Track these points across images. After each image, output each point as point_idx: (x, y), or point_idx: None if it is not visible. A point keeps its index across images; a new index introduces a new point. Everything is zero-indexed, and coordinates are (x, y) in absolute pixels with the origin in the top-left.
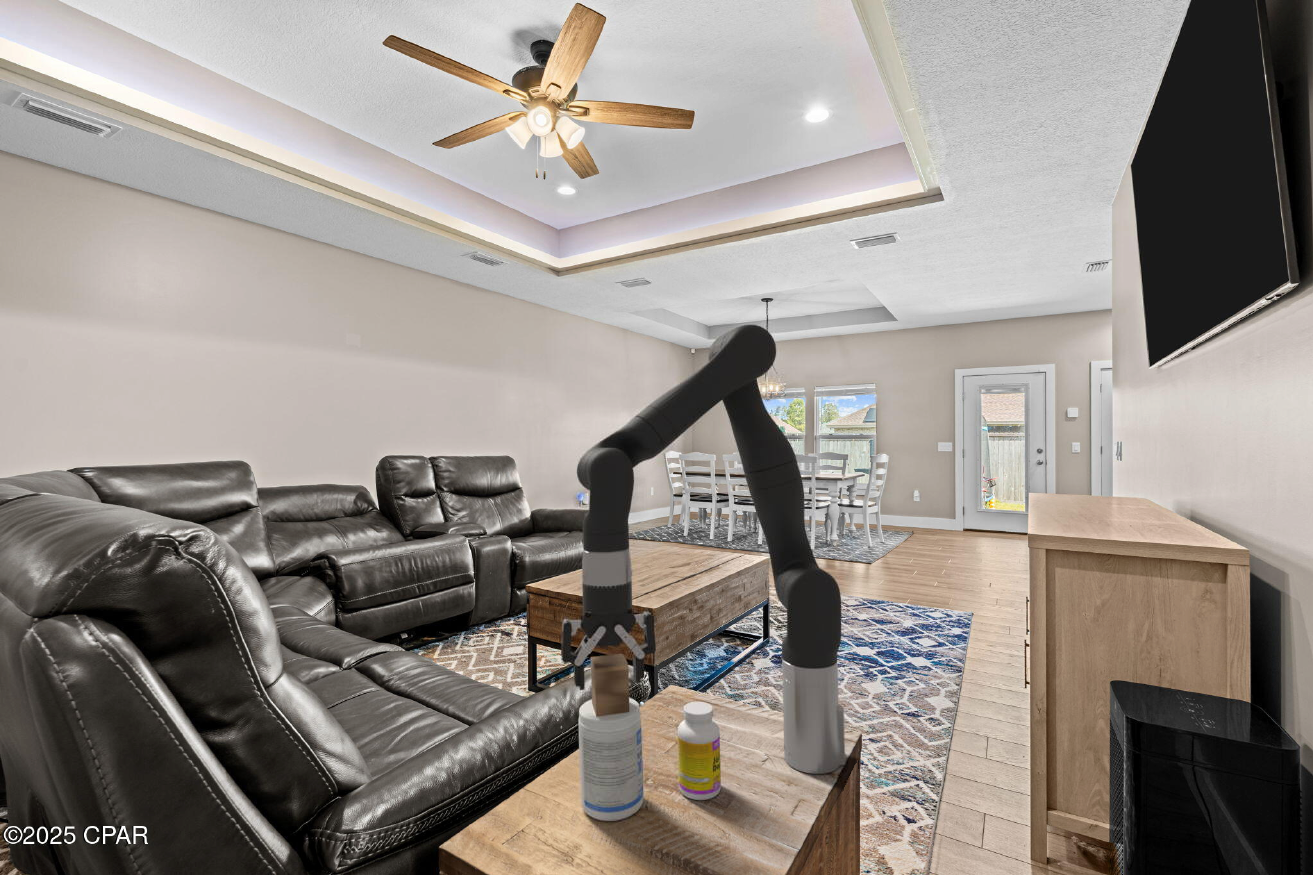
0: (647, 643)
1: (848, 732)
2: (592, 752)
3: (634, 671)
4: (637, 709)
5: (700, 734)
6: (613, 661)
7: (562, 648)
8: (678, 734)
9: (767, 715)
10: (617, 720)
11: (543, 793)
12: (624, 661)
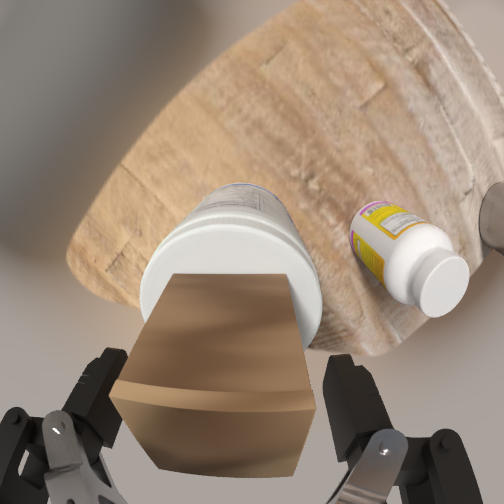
0: (403, 500)
1: None
2: None
3: (334, 397)
4: (305, 347)
5: (411, 304)
6: (237, 456)
7: (23, 471)
8: (385, 267)
9: (499, 93)
10: None
11: (139, 175)
12: (289, 460)
